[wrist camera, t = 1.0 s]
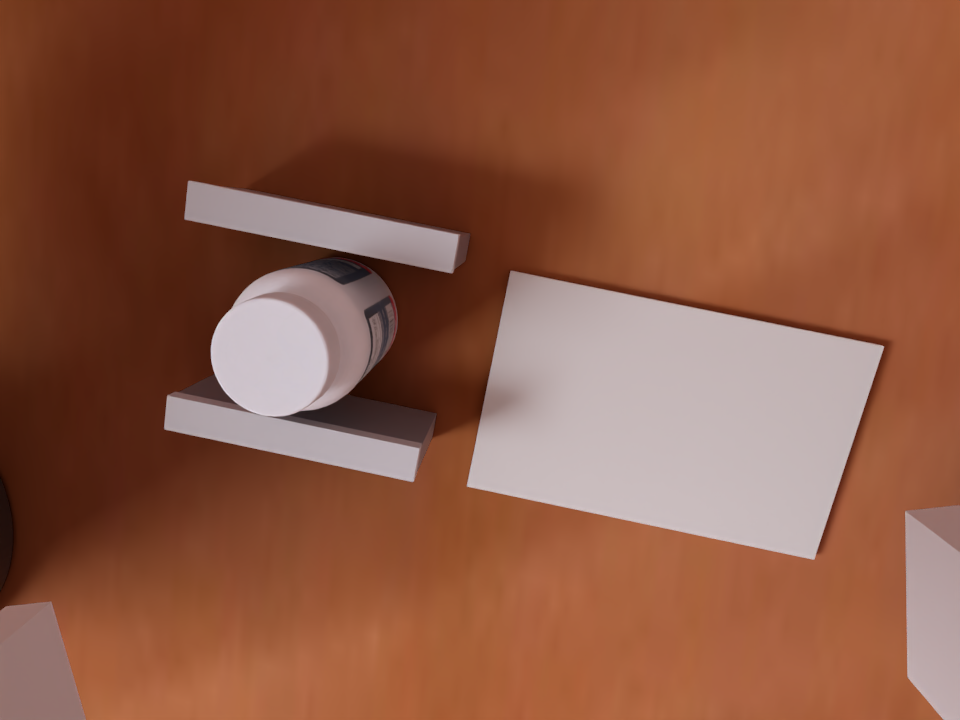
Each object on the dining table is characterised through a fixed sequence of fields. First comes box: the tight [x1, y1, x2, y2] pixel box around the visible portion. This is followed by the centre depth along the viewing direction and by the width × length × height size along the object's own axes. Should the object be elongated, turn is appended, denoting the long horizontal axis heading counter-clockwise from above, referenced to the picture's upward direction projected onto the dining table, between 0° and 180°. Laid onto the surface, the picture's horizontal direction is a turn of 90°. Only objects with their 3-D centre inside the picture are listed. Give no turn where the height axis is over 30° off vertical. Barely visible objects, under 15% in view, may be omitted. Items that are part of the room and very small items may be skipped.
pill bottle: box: [211, 257, 398, 417], centre depth 27 cm, size 5×5×9 cm
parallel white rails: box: [164, 181, 470, 482], centre depth 28 cm, size 10×10×5 cm
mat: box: [467, 271, 884, 560], centre depth 31 cm, size 16×10×1 cm, turn 80°
